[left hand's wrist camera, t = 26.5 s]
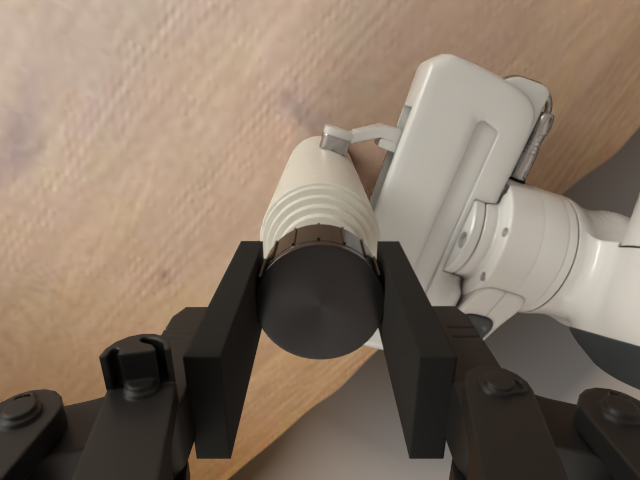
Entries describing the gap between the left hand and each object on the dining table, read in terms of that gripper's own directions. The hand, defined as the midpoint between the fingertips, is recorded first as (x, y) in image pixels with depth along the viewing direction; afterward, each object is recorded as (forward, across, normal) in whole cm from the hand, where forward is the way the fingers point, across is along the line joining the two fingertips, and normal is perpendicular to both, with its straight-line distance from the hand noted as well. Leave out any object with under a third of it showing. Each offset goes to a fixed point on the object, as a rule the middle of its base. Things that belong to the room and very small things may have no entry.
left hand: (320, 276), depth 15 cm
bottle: (+21, 0, 0) cm, 21 cm away
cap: (-2, 0, 0) cm, 2 cm away
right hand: (+14, -1, 0) cm, 14 cm away
